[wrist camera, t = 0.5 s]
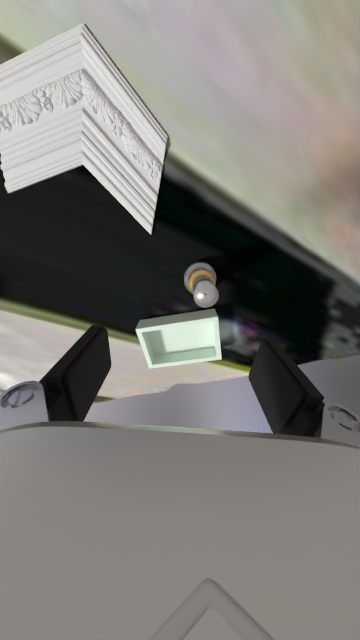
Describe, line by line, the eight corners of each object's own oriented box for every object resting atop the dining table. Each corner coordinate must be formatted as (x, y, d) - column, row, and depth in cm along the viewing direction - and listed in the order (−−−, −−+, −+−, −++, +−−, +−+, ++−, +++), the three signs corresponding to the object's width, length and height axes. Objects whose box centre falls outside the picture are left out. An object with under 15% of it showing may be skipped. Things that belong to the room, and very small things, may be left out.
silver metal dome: (212, 258, 32) (214, 260, 30) (215, 288, 35) (217, 292, 33) (181, 263, 33) (181, 266, 31) (186, 293, 36) (186, 297, 34)
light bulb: (211, 265, 31) (221, 277, 23) (213, 289, 33) (223, 308, 25) (186, 269, 31) (187, 283, 23) (189, 293, 33) (192, 313, 25)
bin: (214, 308, 37) (218, 316, 34) (218, 348, 42) (221, 359, 39) (139, 320, 39) (135, 329, 35) (151, 357, 44) (149, 368, 40)
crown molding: (4, 192, 27) (-35, -31, 18) (11, 193, 28) (-23, -17, 19) (150, 234, 30) (179, 58, 21) (151, 234, 31) (179, 66, 22)
